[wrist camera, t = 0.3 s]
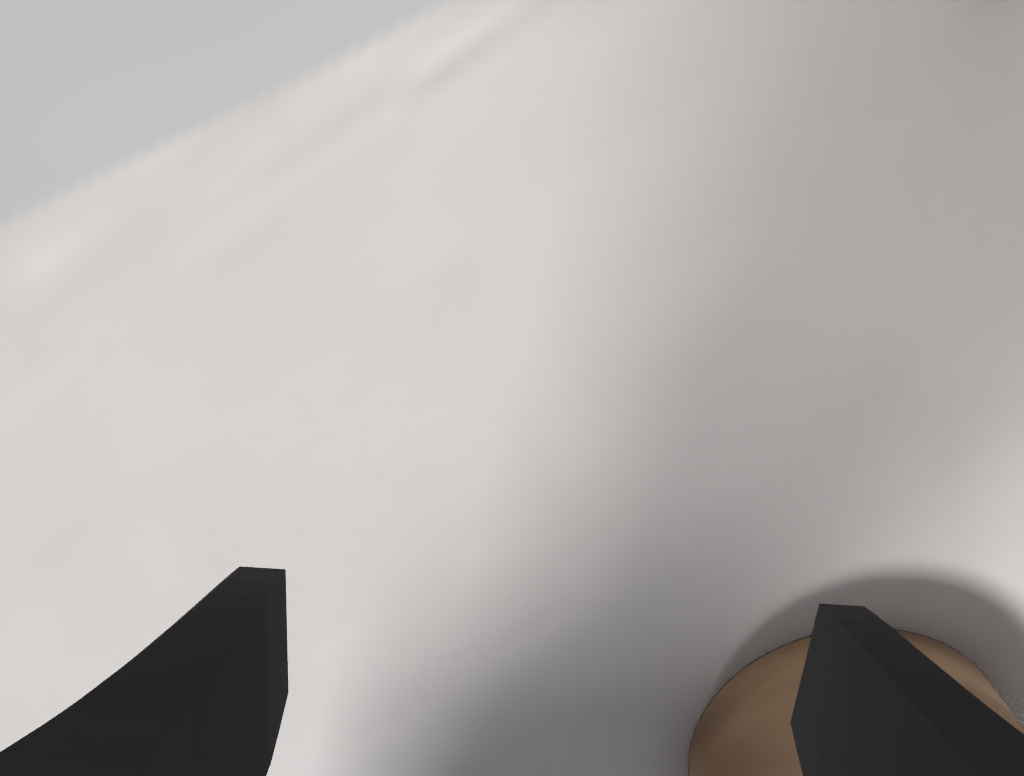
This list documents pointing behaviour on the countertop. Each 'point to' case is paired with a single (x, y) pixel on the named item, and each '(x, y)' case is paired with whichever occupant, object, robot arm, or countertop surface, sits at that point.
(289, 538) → the countertop surface
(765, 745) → the walnut stand
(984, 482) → the countertop surface
